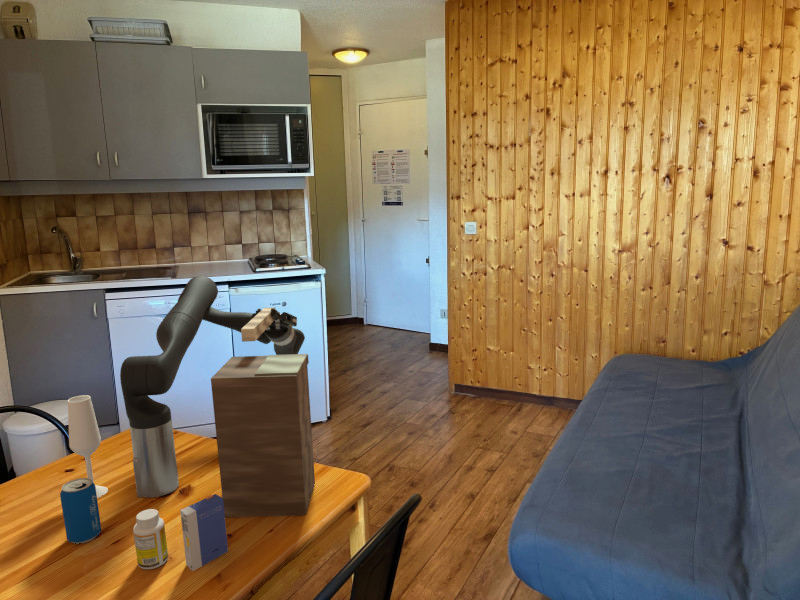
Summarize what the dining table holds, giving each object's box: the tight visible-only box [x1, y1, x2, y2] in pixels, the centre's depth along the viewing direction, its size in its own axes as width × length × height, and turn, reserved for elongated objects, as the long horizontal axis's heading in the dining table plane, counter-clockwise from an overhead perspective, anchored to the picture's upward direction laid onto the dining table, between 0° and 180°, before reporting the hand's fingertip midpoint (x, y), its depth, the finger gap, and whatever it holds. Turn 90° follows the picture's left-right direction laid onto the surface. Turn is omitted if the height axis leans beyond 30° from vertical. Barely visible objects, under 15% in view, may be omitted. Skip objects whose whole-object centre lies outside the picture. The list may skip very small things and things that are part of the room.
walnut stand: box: [210, 353, 316, 519], centre depth 135 cm, size 16×18×32 cm
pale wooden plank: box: [240, 307, 277, 343], centre depth 150 cm, size 24×3×3 cm, turn 0°
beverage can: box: [59, 477, 102, 545], centre depth 124 cm, size 6×6×12 cm
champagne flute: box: [67, 394, 109, 499], centre depth 141 cm, size 7×7×24 cm
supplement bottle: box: [132, 508, 169, 570], centre depth 115 cm, size 6×6×10 cm
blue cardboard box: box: [179, 493, 229, 572], centre depth 115 cm, size 8×3×12 cm, turn 139°
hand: (265, 312), depth 156 cm, fingers closed on pale wooden plank, 3 cm apart
